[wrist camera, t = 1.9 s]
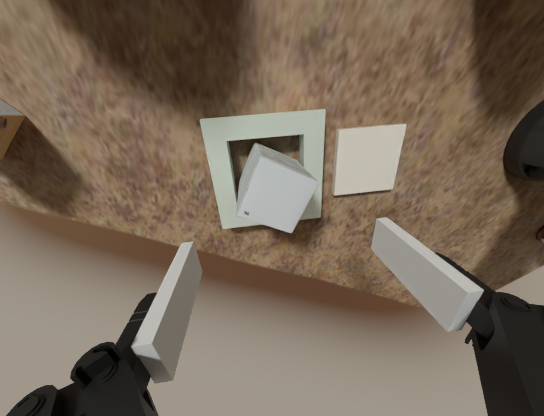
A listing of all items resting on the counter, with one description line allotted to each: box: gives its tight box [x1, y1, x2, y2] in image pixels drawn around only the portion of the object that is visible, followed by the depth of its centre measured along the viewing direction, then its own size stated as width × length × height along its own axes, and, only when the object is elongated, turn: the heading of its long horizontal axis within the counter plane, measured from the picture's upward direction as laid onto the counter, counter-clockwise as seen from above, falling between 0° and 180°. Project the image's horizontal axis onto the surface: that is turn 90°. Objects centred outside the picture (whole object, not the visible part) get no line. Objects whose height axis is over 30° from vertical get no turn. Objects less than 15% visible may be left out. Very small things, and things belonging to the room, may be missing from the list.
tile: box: [332, 123, 406, 196], centre depth 34 cm, size 11×11×1 cm
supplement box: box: [236, 142, 319, 233], centre depth 27 cm, size 7×7×13 cm
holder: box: [200, 109, 326, 229], centre depth 32 cm, size 17×17×3 cm
